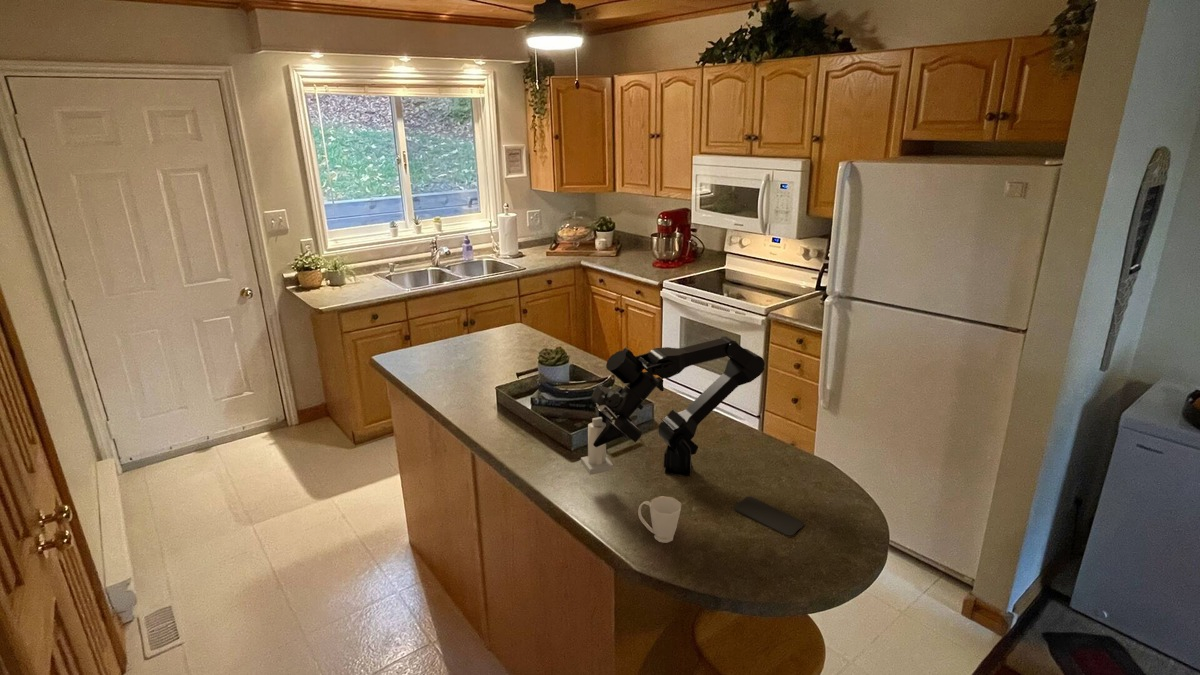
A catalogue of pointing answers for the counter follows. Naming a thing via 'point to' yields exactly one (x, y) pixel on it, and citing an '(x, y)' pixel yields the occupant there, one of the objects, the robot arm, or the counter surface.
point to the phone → (769, 516)
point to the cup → (662, 517)
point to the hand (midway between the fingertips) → (591, 442)
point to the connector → (596, 450)
